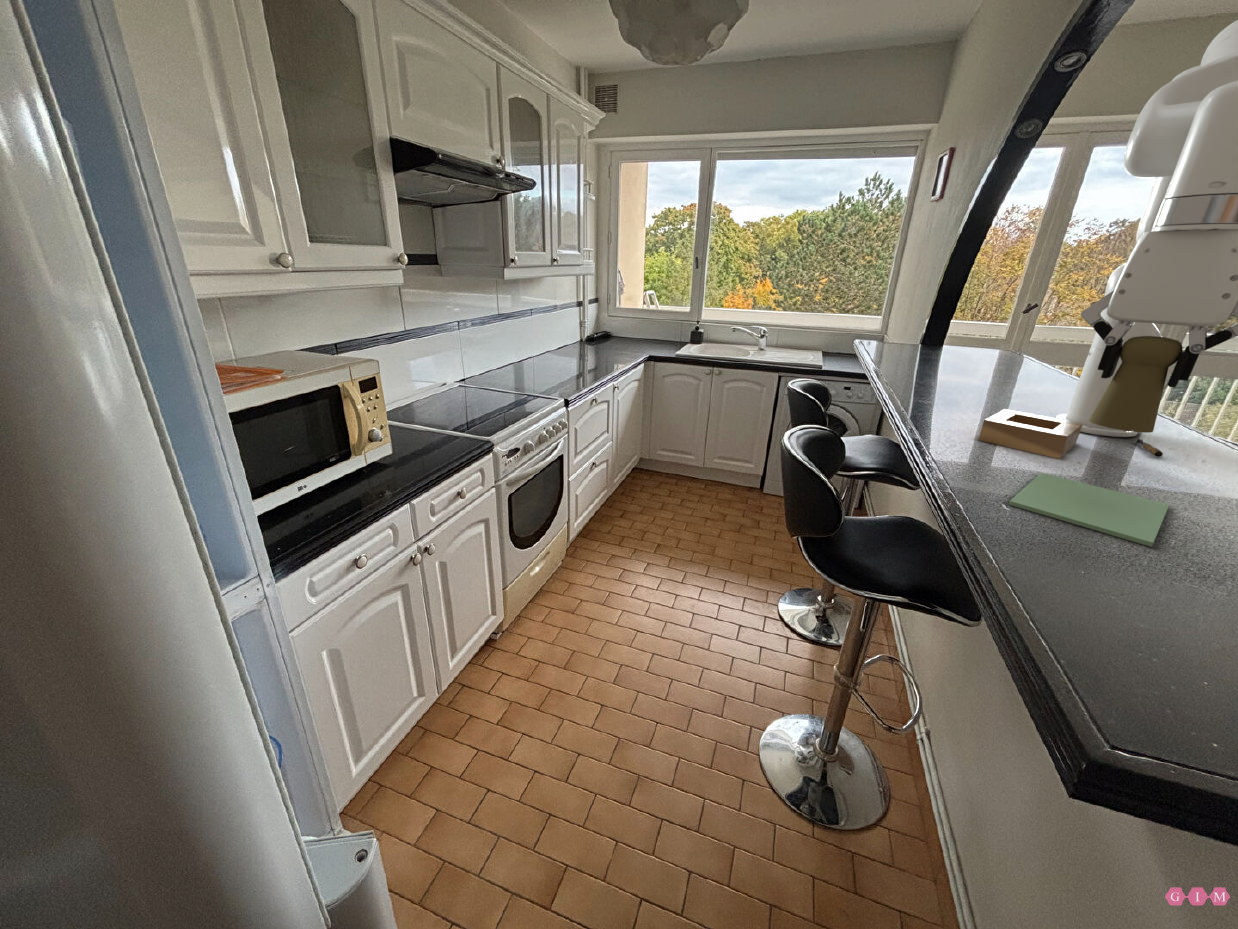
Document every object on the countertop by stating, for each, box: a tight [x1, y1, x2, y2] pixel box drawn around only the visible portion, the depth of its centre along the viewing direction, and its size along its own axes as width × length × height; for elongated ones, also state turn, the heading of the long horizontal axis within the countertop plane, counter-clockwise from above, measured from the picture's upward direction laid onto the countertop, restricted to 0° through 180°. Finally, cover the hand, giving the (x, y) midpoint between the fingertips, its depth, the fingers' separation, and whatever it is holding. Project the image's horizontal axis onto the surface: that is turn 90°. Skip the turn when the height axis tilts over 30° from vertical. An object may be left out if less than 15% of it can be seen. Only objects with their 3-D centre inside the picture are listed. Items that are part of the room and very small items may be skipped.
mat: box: [1008, 472, 1170, 548], centre depth 68 cm, size 16×14×1 cm
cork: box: [1089, 336, 1184, 434], centre depth 62 cm, size 6×6×11 cm
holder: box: [977, 408, 1083, 460], centre depth 92 cm, size 12×12×4 cm
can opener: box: [1134, 438, 1164, 458], centre depth 90 cm, size 9×2×1 cm, turn 147°
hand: (1138, 379), depth 62 cm, fingers closed on cork, 5 cm apart
